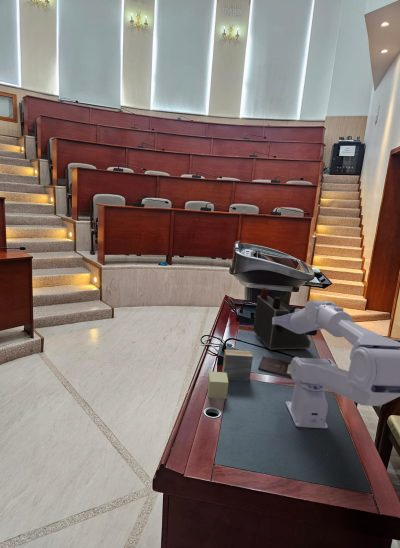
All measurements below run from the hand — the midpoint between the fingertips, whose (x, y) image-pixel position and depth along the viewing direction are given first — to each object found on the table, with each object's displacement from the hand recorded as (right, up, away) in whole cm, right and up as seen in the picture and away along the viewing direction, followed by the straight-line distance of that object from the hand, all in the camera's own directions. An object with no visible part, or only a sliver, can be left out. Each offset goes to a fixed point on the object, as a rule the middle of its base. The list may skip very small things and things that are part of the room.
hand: (287, 328), depth 101 cm
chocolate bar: (+2, -15, +6) cm, 16 cm away
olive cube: (-22, -16, -10) cm, 29 cm away
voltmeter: (+4, -10, +26) cm, 29 cm away
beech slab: (-16, -15, -1) cm, 22 cm away
